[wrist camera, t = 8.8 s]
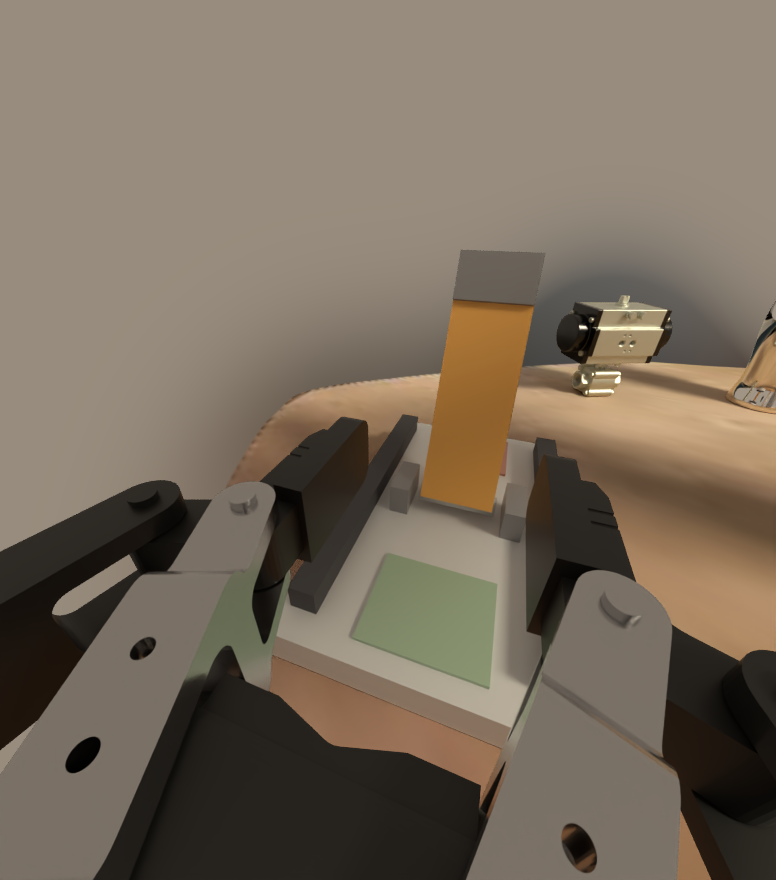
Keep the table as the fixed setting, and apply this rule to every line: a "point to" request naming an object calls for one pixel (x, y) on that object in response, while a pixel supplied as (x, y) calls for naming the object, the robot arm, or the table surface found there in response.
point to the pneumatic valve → (611, 340)
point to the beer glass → (759, 371)
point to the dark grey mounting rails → (365, 517)
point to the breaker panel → (430, 604)
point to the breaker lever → (480, 377)
